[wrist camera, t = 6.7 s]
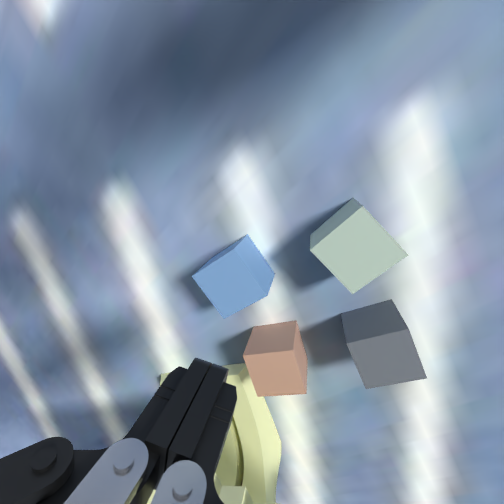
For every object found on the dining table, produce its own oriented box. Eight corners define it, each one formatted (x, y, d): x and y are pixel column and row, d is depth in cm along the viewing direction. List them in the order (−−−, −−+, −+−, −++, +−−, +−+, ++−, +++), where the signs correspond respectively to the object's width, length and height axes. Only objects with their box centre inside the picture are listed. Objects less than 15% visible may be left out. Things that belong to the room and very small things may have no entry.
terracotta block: (253, 326, 30) (242, 355, 25) (296, 320, 29) (293, 350, 24) (265, 362, 31) (257, 396, 27) (307, 358, 30) (306, 393, 25)
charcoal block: (340, 313, 27) (346, 343, 23) (391, 299, 26) (408, 328, 21) (357, 352, 28) (365, 389, 24) (407, 340, 27) (426, 378, 22)
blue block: (211, 258, 28) (191, 276, 24) (247, 234, 27) (234, 248, 22) (238, 294, 29) (223, 319, 25) (275, 273, 27) (267, 295, 23)
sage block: (310, 234, 25) (309, 250, 21) (353, 197, 23) (362, 205, 19) (345, 270, 26) (352, 294, 21) (390, 237, 24) (408, 255, 19)
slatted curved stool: (157, 460, 42) (56, 654, 25) (113, 380, 38) (-40, 545, 22) (353, 458, 33) (393, 755, 16) (320, 352, 29) (329, 599, 13)
